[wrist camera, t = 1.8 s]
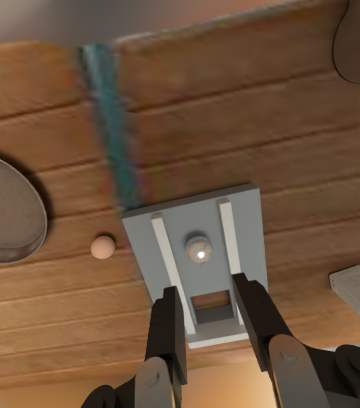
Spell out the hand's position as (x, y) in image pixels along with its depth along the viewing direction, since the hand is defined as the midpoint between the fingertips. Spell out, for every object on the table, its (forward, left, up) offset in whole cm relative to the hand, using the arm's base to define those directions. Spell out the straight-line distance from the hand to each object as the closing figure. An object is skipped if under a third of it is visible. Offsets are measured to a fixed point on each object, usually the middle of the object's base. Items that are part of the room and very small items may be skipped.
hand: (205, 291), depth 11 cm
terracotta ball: (+5, -15, -17) cm, 23 cm away
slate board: (+14, 0, -19) cm, 24 cm away
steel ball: (+7, 0, -14) cm, 16 cm away
